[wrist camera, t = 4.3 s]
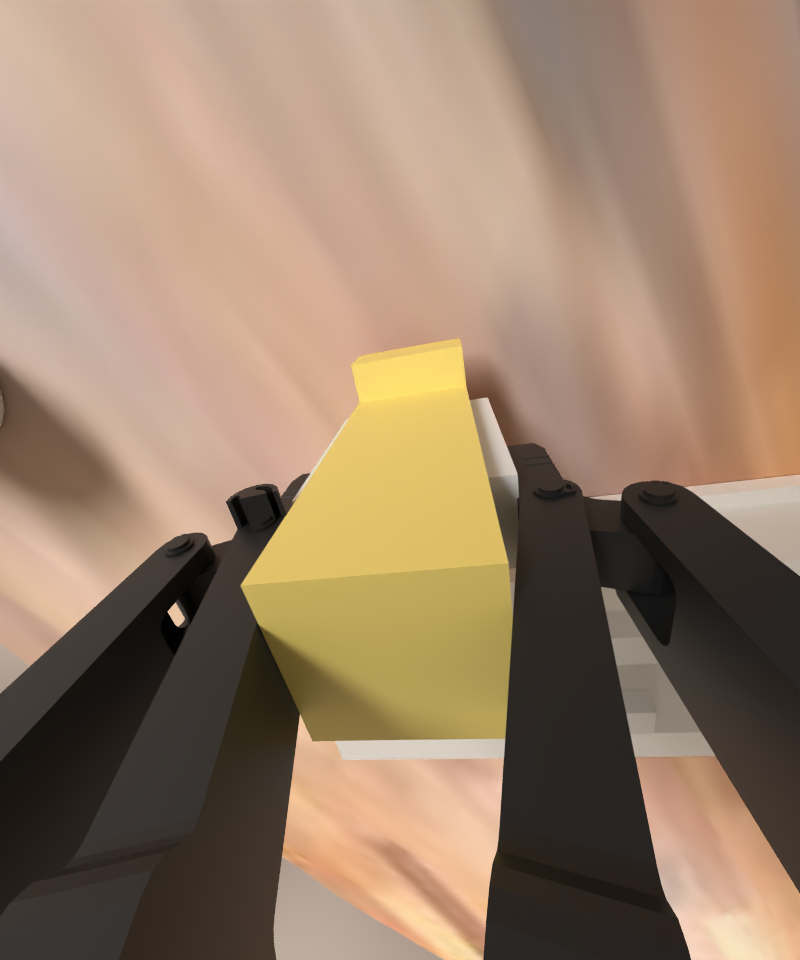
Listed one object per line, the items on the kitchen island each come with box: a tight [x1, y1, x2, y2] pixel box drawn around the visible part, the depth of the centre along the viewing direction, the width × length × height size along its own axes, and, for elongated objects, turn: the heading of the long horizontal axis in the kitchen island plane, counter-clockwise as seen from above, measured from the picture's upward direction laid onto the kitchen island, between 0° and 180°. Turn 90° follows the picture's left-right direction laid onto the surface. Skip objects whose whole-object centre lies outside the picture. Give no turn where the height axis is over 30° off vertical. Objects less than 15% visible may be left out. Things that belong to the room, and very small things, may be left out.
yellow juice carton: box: [240, 338, 513, 741], centre depth 12 cm, size 7×4×12 cm, turn 10°
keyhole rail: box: [336, 474, 800, 760], centre depth 21 cm, size 14×27×5 cm, turn 100°
